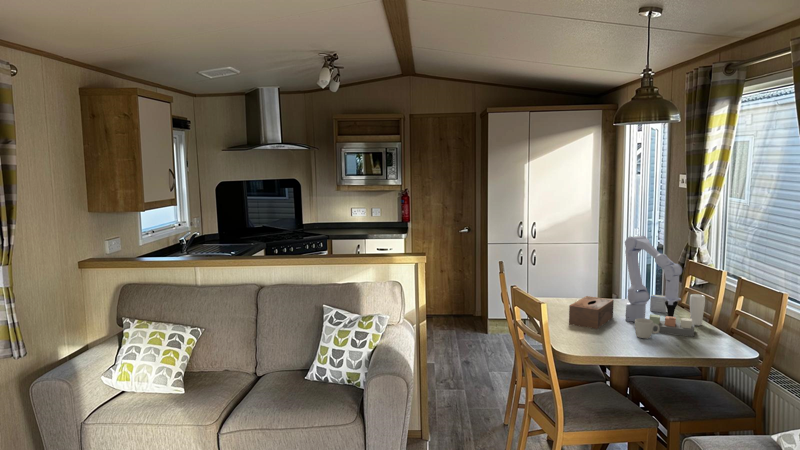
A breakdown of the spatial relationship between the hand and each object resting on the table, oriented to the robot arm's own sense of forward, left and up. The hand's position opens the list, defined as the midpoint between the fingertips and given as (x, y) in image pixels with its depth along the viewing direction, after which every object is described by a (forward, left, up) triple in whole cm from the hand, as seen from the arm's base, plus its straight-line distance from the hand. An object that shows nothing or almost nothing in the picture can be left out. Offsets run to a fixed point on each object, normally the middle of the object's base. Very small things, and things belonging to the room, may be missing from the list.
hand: (670, 316), depth 277 cm
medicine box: (-8, +37, -8) cm, 39 cm away
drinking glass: (+11, +18, -7) cm, 22 cm away
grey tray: (0, 0, -7) cm, 7 cm away
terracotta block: (0, 0, -5) cm, 5 cm away
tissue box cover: (-37, 0, -8) cm, 38 cm away
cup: (-9, -17, -8) cm, 21 cm away
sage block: (-7, 0, -5) cm, 9 cm away
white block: (+7, 0, -5) cm, 8 cm away
